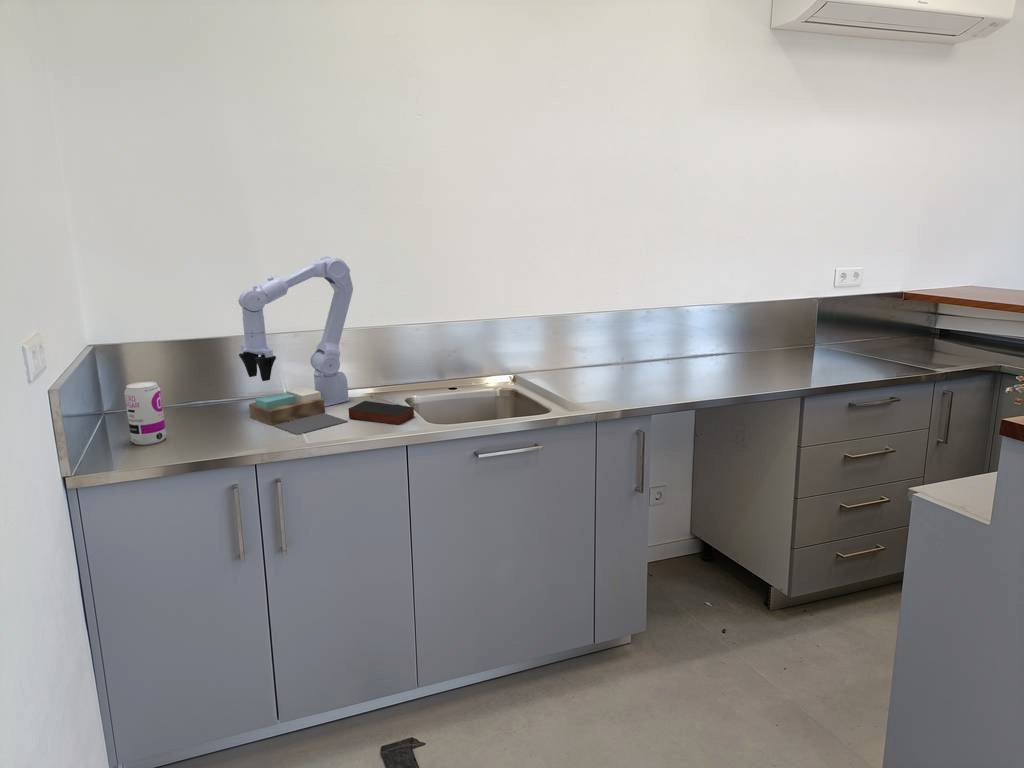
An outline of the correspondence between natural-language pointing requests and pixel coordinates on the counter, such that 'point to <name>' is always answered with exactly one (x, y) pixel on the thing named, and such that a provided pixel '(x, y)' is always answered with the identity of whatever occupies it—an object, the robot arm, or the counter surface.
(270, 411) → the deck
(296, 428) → the mat
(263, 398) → the turquoise block
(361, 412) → the kitchen sponge
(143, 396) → the supplement can
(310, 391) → the cream flat block
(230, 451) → the counter surface
